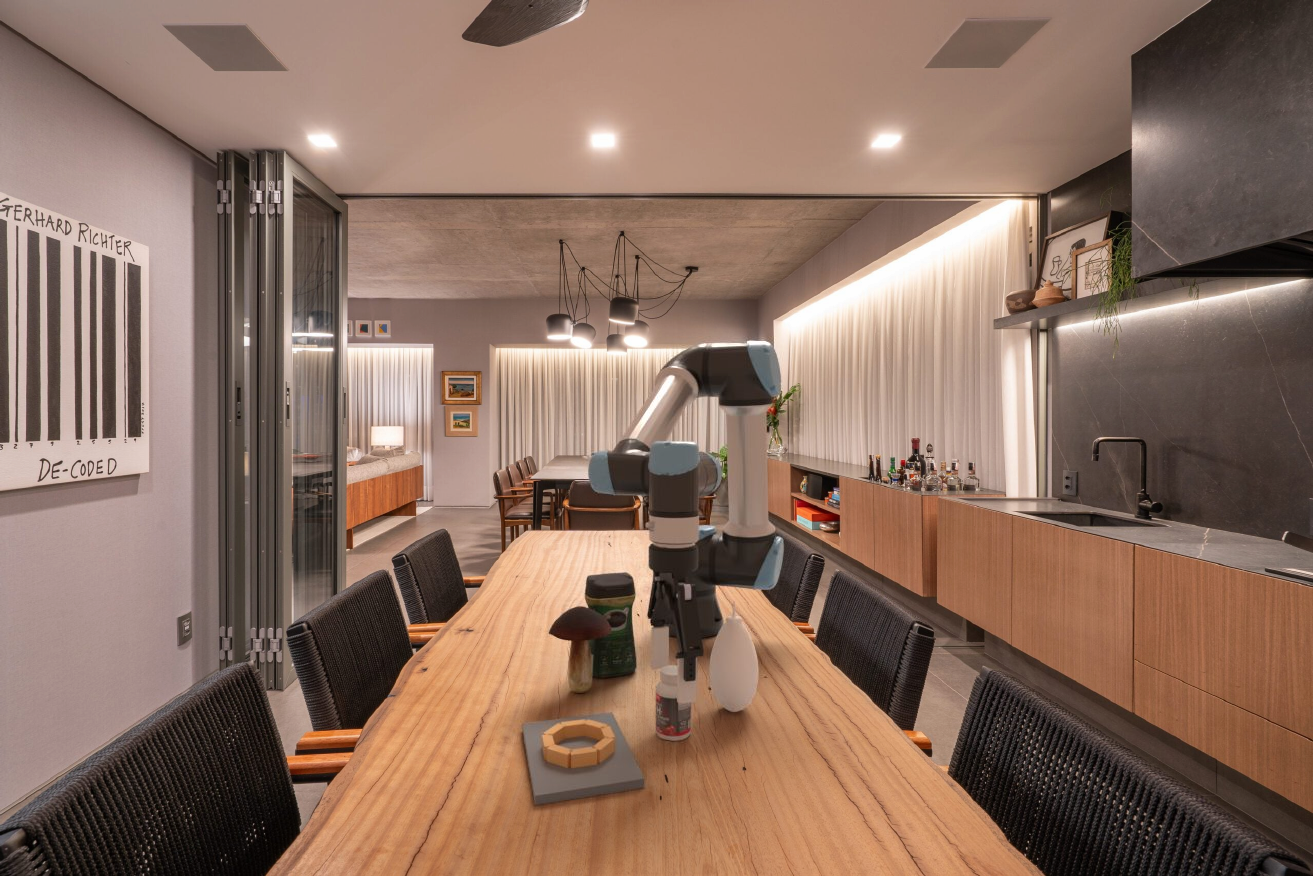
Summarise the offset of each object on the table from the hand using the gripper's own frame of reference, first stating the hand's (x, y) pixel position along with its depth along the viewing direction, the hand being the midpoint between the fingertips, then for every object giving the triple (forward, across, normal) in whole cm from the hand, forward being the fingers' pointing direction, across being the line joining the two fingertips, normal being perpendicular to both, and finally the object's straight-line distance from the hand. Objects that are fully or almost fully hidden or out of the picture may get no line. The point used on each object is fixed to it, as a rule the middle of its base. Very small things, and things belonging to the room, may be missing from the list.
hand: (672, 683), depth 98 cm
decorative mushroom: (+8, -19, -11) cm, 23 cm away
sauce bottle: (+8, -5, +12) cm, 15 cm away
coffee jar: (+8, -27, -4) cm, 29 cm away
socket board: (+8, +3, -15) cm, 17 cm away
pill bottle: (+8, 0, 0) cm, 8 cm away
